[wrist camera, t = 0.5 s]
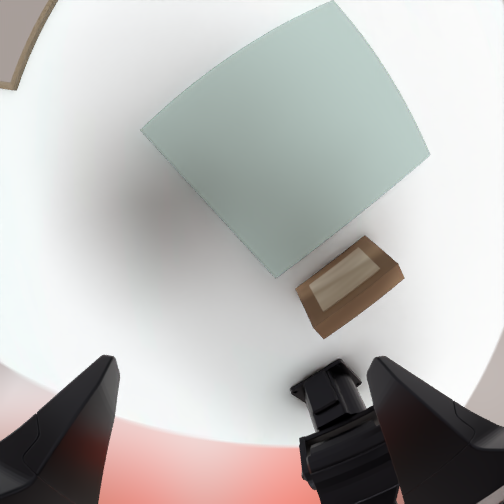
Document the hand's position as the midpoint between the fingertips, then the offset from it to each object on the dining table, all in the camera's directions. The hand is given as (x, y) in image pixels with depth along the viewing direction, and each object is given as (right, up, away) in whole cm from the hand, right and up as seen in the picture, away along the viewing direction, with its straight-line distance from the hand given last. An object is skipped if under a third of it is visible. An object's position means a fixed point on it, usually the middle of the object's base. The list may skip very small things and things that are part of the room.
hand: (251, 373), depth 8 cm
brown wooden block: (+7, +3, +13) cm, 15 cm away
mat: (+4, +12, +9) cm, 15 cm away
